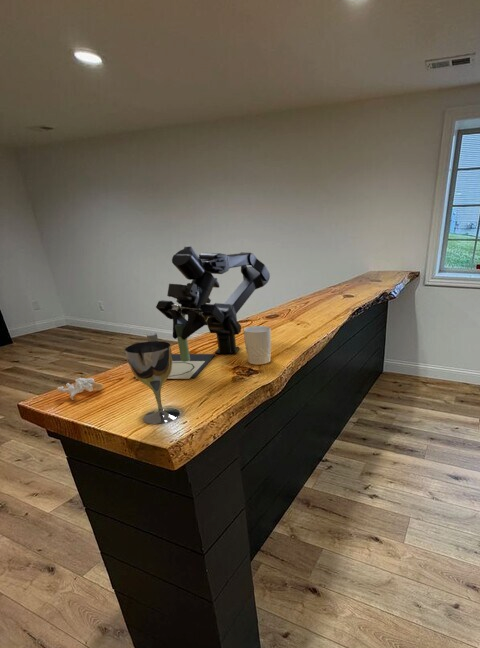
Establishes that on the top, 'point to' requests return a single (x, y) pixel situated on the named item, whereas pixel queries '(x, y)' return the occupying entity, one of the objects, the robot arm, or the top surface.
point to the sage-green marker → (182, 343)
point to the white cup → (258, 344)
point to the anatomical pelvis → (81, 386)
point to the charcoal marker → (152, 337)
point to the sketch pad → (188, 366)
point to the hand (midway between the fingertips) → (178, 338)
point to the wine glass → (153, 374)
